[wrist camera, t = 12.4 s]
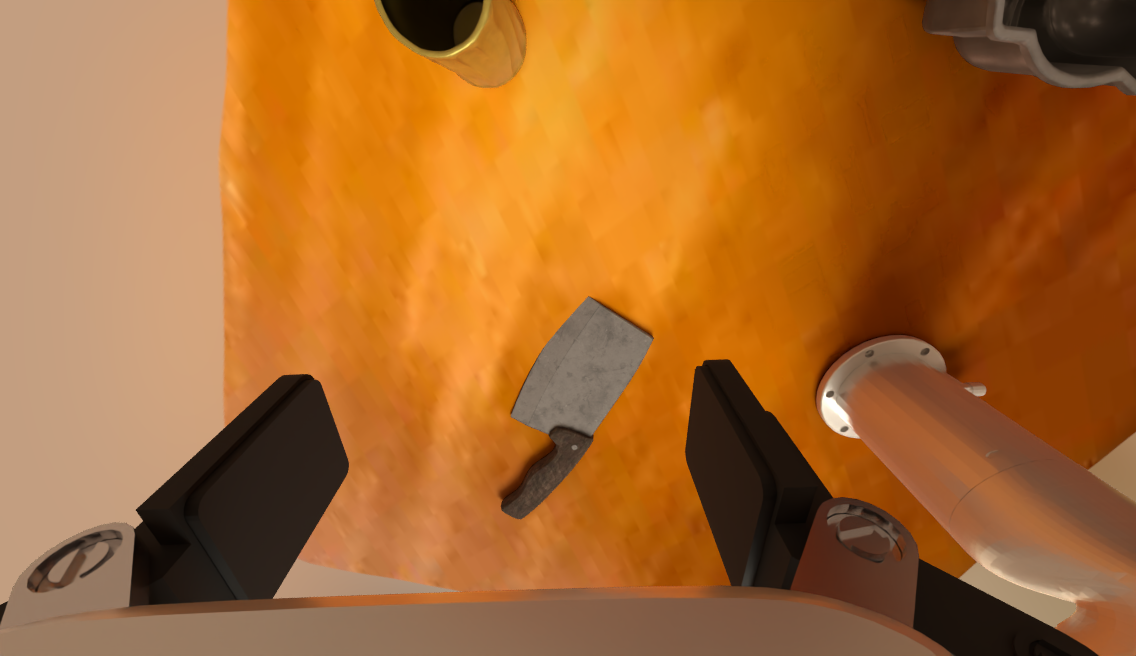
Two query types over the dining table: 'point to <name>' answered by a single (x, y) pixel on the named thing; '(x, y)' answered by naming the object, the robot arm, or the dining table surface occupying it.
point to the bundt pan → (1044, 38)
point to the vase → (461, 36)
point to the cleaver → (574, 393)
